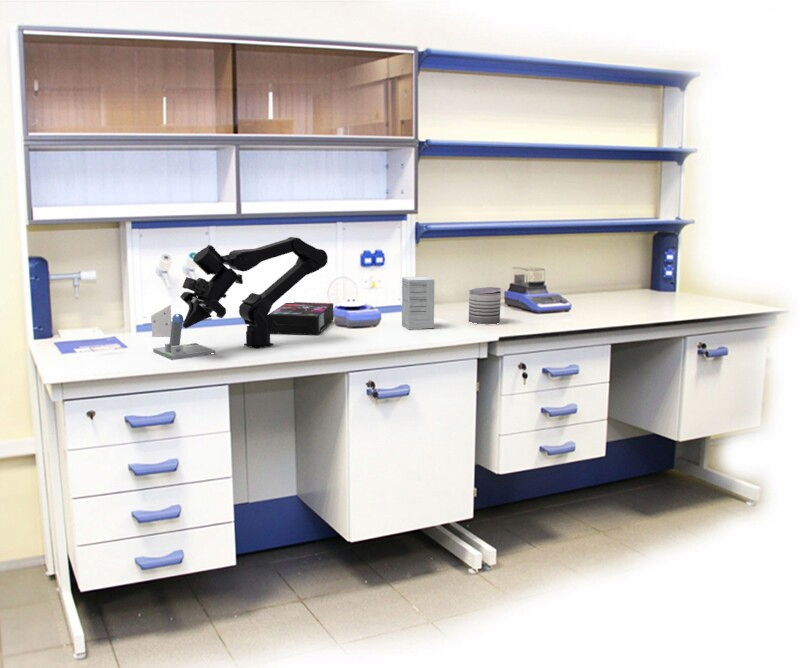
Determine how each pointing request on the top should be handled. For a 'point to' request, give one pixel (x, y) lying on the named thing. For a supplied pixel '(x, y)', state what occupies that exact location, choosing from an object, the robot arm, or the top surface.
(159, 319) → the grey plate
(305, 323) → the graphics card box
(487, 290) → the can
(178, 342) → the lever
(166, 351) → the switch panel
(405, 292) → the supplement box
